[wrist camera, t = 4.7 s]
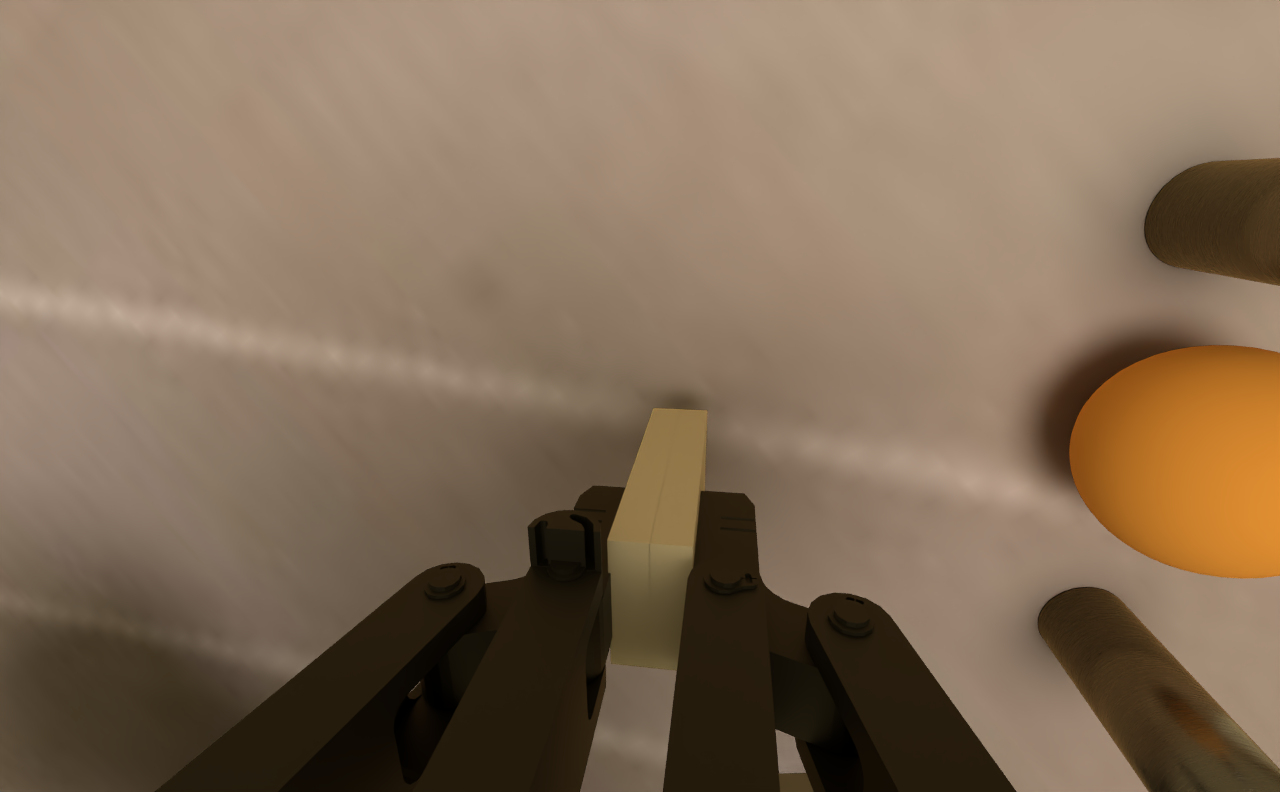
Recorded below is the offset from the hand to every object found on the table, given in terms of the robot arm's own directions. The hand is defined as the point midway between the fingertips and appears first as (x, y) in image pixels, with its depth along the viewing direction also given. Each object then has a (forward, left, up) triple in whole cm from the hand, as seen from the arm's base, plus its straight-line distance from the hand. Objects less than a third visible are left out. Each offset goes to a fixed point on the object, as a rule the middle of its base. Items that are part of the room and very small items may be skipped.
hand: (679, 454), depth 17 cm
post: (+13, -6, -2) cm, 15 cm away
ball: (+13, +1, 0) cm, 13 cm away
